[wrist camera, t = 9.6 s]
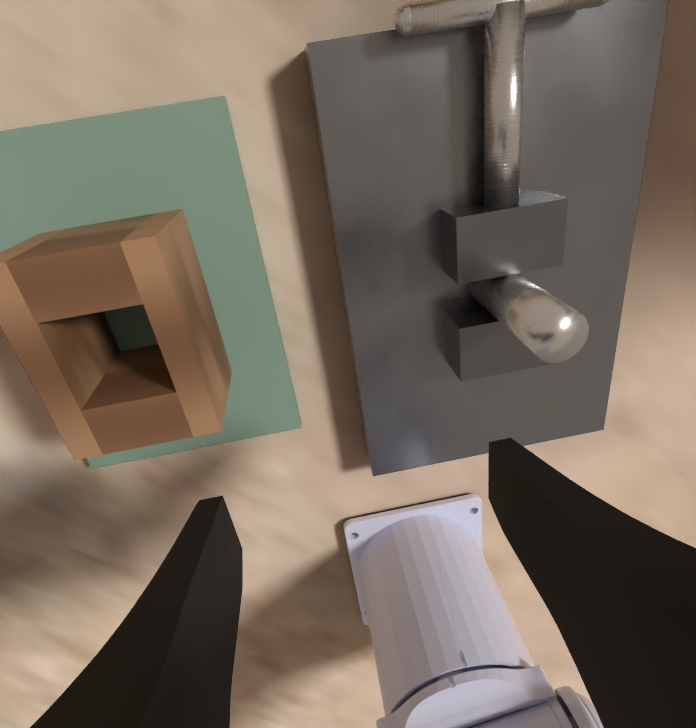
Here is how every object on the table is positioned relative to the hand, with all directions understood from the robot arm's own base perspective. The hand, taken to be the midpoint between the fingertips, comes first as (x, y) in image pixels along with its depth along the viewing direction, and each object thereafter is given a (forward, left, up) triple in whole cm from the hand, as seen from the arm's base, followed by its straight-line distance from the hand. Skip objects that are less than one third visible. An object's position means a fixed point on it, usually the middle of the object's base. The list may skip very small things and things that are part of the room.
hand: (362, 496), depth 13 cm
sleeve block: (+3, +7, -9) cm, 12 cm away
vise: (+2, -7, -10) cm, 12 cm away
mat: (+3, +7, -10) cm, 12 cm away
